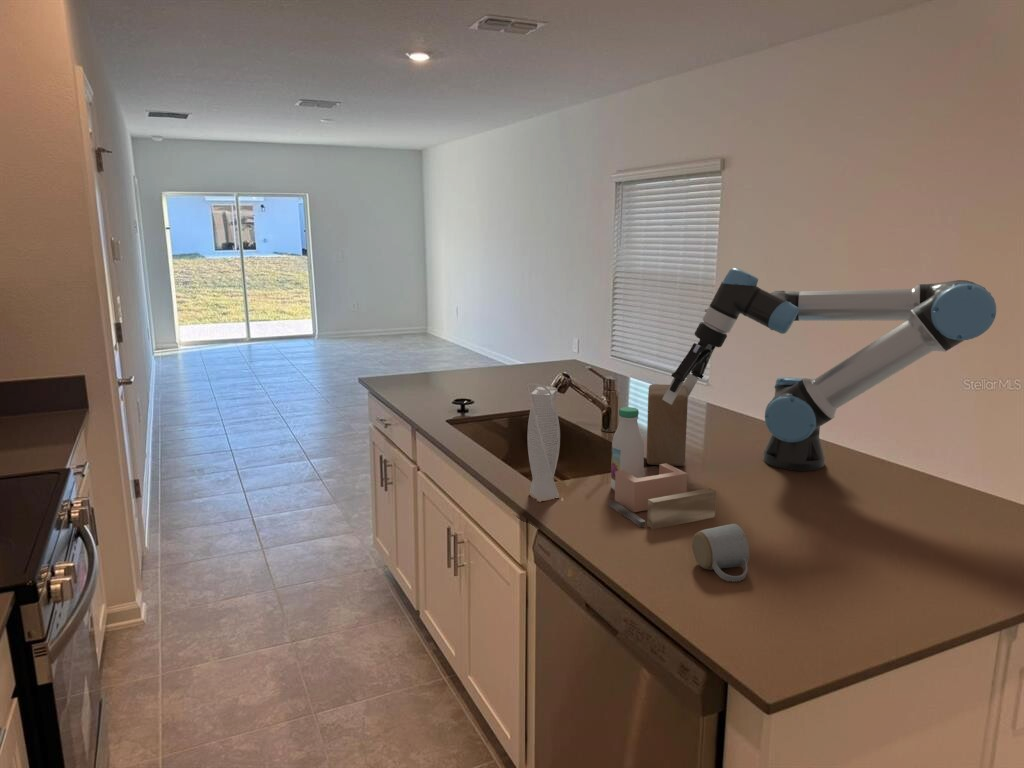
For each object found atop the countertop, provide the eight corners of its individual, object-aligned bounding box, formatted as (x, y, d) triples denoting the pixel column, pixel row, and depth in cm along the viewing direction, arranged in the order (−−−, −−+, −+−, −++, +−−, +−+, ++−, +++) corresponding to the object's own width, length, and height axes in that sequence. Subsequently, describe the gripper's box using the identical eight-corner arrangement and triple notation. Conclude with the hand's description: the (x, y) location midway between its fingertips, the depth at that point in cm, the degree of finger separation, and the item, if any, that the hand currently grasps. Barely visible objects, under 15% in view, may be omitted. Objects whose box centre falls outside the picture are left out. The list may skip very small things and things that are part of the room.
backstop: (609, 505, 158) (609, 481, 157) (679, 493, 165) (680, 469, 164) (646, 530, 144) (646, 503, 143) (720, 515, 152) (722, 489, 150)
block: (684, 467, 183) (688, 396, 177) (646, 465, 185) (648, 395, 179) (683, 452, 192) (686, 384, 186) (647, 450, 194) (648, 382, 188)
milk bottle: (645, 484, 171) (647, 406, 167) (640, 495, 164) (642, 413, 160) (614, 481, 174) (615, 404, 169) (608, 492, 166) (609, 411, 162)
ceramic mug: (688, 559, 132) (690, 522, 130) (727, 554, 133) (729, 517, 132) (718, 587, 122) (720, 546, 120) (759, 581, 123) (762, 541, 122)
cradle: (614, 500, 161) (615, 471, 159) (665, 491, 166) (666, 463, 164) (633, 512, 153) (634, 482, 152) (686, 502, 159) (687, 473, 157)
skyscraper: (536, 505, 159) (535, 386, 153) (520, 495, 165) (519, 380, 159) (565, 499, 162) (566, 382, 157) (549, 489, 169) (549, 376, 163)
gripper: (713, 320, 188) (676, 387, 194) (687, 320, 166) (647, 396, 173) (738, 333, 185) (700, 401, 191) (715, 335, 163) (672, 412, 170)
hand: (674, 399), depth 182 cm, fingers open, 13 cm apart
